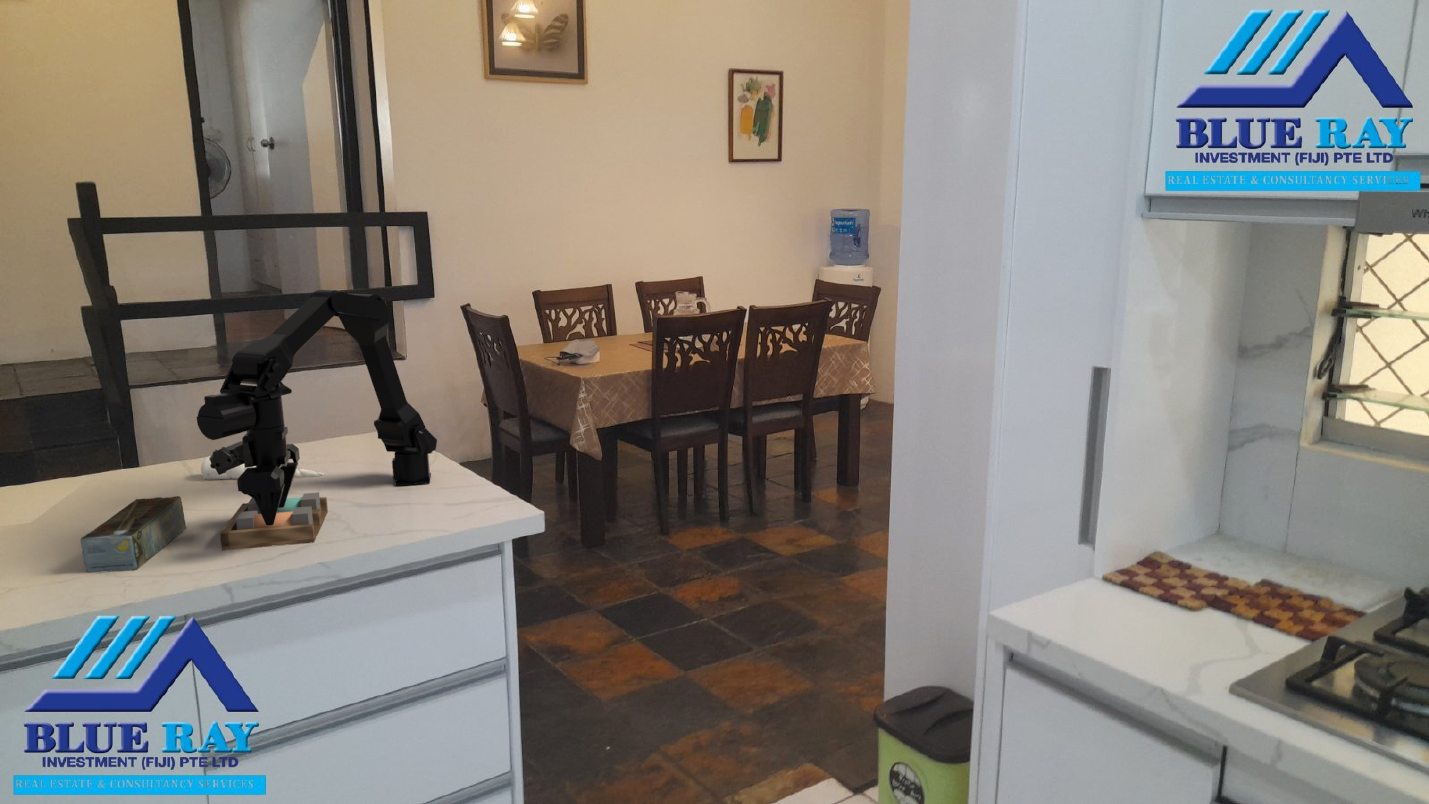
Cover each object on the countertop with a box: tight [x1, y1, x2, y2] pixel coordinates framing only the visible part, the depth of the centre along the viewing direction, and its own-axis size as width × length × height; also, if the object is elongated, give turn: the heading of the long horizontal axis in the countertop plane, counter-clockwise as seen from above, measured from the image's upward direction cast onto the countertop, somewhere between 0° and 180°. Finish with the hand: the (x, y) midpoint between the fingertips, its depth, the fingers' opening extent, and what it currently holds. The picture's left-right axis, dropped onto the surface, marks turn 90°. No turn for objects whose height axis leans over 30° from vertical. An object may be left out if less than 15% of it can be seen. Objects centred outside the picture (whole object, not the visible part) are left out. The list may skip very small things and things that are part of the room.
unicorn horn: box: [200, 455, 325, 481], centre depth 195 cm, size 5×24×5 cm, turn 89°
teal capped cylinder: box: [247, 492, 321, 514], centre depth 168 cm, size 11×4×4 cm, turn 104°
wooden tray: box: [219, 496, 329, 551], centre depth 164 cm, size 14×16×3 cm
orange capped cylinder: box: [236, 506, 313, 530], centre depth 160 cm, size 11×4×4 cm, turn 104°
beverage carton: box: [80, 495, 187, 574], centre depth 155 cm, size 8×19×7 cm, turn 7°
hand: (275, 516), depth 160 cm, fingers open, 9 cm apart
